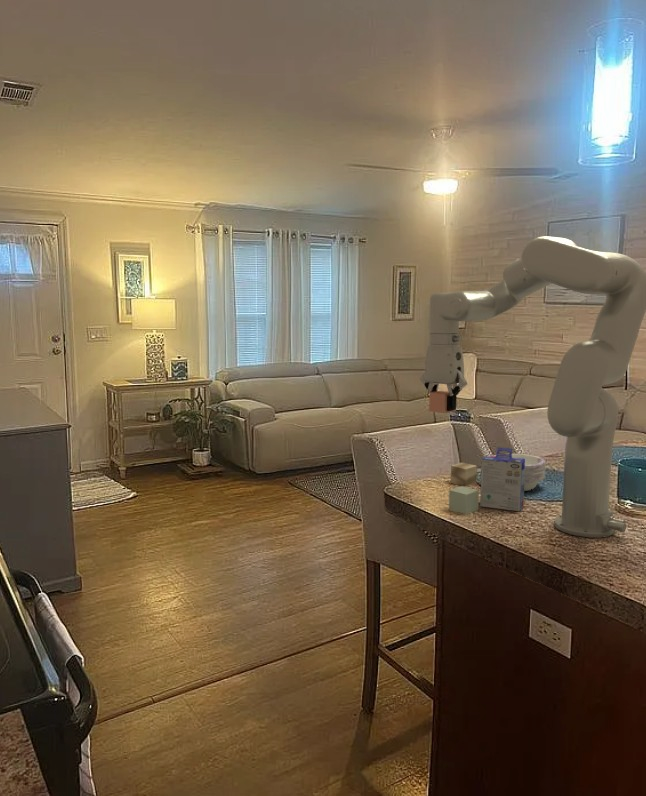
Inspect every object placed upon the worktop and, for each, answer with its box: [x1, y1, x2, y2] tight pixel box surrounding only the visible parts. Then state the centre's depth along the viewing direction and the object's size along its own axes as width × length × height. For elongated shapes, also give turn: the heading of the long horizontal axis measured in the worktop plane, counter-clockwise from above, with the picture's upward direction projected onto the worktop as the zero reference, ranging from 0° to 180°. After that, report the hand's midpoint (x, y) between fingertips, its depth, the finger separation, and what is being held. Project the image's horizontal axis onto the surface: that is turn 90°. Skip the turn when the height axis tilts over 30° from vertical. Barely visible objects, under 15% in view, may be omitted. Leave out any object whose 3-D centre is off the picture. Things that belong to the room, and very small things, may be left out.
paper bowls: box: [492, 453, 546, 492], centre depth 172 cm, size 15×15×8 cm
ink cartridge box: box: [479, 447, 525, 512], centre depth 156 cm, size 10×6×14 cm, turn 65°
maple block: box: [450, 462, 478, 487], centre depth 177 cm, size 5×5×5 cm
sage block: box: [448, 485, 480, 515], centre depth 154 cm, size 5×5×5 cm
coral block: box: [428, 390, 457, 414], centre depth 167 cm, size 5×5×5 cm
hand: (442, 408), depth 167 cm, fingers closed on coral block, 4 cm apart
